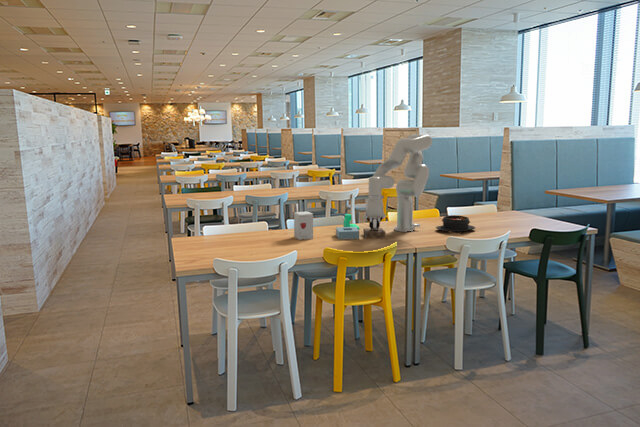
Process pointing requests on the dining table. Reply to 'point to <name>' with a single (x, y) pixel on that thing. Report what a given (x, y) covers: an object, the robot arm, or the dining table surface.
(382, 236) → the walnut mount block
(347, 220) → the camera mount
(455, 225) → the casserole
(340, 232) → the socket block
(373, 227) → the steel pin
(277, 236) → the dining table surface
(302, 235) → the supplement box
